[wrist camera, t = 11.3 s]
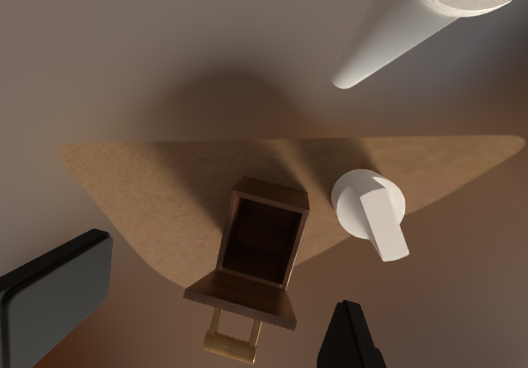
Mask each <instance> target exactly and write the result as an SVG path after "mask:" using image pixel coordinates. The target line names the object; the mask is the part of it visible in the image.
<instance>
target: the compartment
mask: <svg viewBox="0 0 528 368" xmlns="http://www.w3.org/2000/svg"><path fill="white" fill-rule="evenodd" d="M309 212H310V207H309V200H308V193H307V192H305V191H301V190H297V189H293V188H289V187H285V186H282V185H278V184H274V183H270V182H266V181H262V180H259V179H255V178H251V177H247V176H245V177H244V178H243V179H242V180H241V181H240V182H239V183H238V184H237V185H236V186H235V187H234V188H233V189H232V193H231V198H230V203H229V207H228V212H227V217H226V222H225V226H224V231H223V236H222V241H221V245H220V250H219V255H218V260H217V264H216V270H219V271H223V272H226V273H230V274H233V275H237V276H240V277H243V278H247V279H250V280H254V281H257V282H261V283H264V284H268V285H271V286H275V287H278V288H282V289H285V290H286V288H287V285H288V282H289V278H290V275H291V272H292V269H293V265H294V262H295V259H296V255H297V252H298V249H299V245H300V242H301V239H302V235H303V232H304V229H305V225H306V222H307V219H308V215H309Z"/></svg>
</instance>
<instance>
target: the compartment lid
mask: <svg viewBox="0 0 528 368" xmlns="http://www.w3.org/2000/svg"><path fill="white" fill-rule="evenodd" d="M183 298H186V299H189V300H192V301H196V302H199V303H202V304H206V305H210V306H212V307H215V311H214V315H213V318H212V322H211V325H210V329H209V330H208V331H207V333H206V336H205V339H204V342H203V346H202V349H204V350H207V351H210V352H213V353H217V354H220V355H223V356H227V357H230V358H233V359H236V360H239V361H243V362H246V363H249V364H253V363H254V359H255V355H256V351H257V345H256V343H257V339H258V335H259V331H260V327H261V323H262V321H263V322H266V323H270V324H273V325H276V326H280V327H283V328H287V329H290V330H293V331H295V328H296V324H297V321H296V318H295V315H294V312H293V308H292V305H291V303H290V299H289V297H288V293H287V290H285V289H282V288H278V287H275V286H271V285H268V284H264V283H261V282H257V281H254V280H250V279H247V278H243V277H240V276H237V275H233V274H230V273H226V272H223V271H219V270H216V269H215V270H213V271H212V272H210V273H209V274H207V275H206V276H204V277H203V278H202V279H200V280H199V281H197V282H196V283H194V284H193V285H191V286H190V287H188V288H187V289H185V293H184V296H183ZM223 310H226V311H229V312H233V313H236V314H239V315H243V316H246V317H250V318H253V319H255V321H254V325H253V328H252V332H251V337H250V340H249V342H246V341H242V340H239V339H235V338H232V337H229V336H226V335H222V334H219V333H216V332H217V329H218V325H219V322H220V318H221V314H222V311H223Z"/></svg>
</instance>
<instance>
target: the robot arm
mask: <svg viewBox="0 0 528 368" xmlns="http://www.w3.org/2000/svg"><path fill="white" fill-rule="evenodd" d="M112 244H113V239H112V237H110V234H109V233H108V232H105V231H102V230H98V229H92V230H90V231H88V232H86V233H84V234H82V235H80V236H78V237H76V238H75V239H72V240H70V241H69V242H67V243H65V244H63V245H61V246H59V247H57V248H55V249H53V250H51V251H49V252H47V253H46V254H44V255H42V256H40V257H38V258H36V259H34V260H32V261H30V262H28V263H26V264H25V265H23V266H21V267H19V268H17V269H15V270H13V271H11V272H9V273H7V274H5V275H3V276H1V277H0V368H32V367H33V366H34V365H35V364H36V363H37V362H38V361H39V360H40V359H41V358H43V357H44V356H45V355H46V354H47V353H48V352H49V351H50V350H51V349H52V348H53V347H54V346H56V345H57V344H58V343H59V342H60V341H61V340H62V339H63V338H64V337H65V336H66V335H67V334H69V333H70V332H71V331H72V330H73V329H74V328H75V327H76V326H77V325H78V324H79V323H80V322H82V320H84V319H85V318H86V317H87V316H88V315H89V314H90V313H91V312H92V311H93V310H94V309H95V308H97V307H98V306H99V305H100V304H101V303H102V302H103V301H104V300H105V298H106V297H107V295H108V290H109V279H110V268H111V255H112ZM317 368H386V365H385V362H384V360H383V357H382V354H381V352H380V351H379V349H378V348H375V346H374V343H373V340H372V338H371V335H370V332H369V329H368V326H367V323H366V320H365V318H364V314H363V311H362V309H361V306H360V304H358V303H354V302H351V301H347V300H344V301H343V302H342V303H340V302H338V303H337V305H336V308H335V311H334V314H333V316H332V319H331V322H330V324H329V327H328V330H327V332H326V335H325V338H324V341H323V343H322V346H321V349H320V352H319V354H318V358H317Z"/></svg>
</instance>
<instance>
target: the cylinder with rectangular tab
mask: <svg viewBox="0 0 528 368" xmlns="http://www.w3.org/2000/svg"><path fill="white" fill-rule="evenodd" d="M331 201H332V205H333V208H334V210H335V213H336V215H337V217H338V220H339V221H340V223H341V225H342V227H343V228H344V229H345V230H346V231H347V232H348V233H350V234H352V235H354V236H356V237H359V238H363V239H370V240H371V242H372V244H373V245H374V247H375V249H376V250H377V252H378V253H379V255H380V256H381V258H382V260H383V261H392V260H397V259H400V258H402V257H404V256H407V255H408V254H409V251H408V248H407V245H406V242H405V240H404V237H403V234H402V231H401V228H400V225H399V224H400V222H401V221H402V218H403V216H404V214H405V200H404V196H403V195H402V193H401V191H400V189H399V188H398V187H397V186H396V185H395V184H394V183H392V182H391V181H389V180H387V179H386V178H384V177H383V176H381V175H379V174H378V173H376V172H374V171H371V170H368V169H356V170H352V171H349V172H347V173H345V174H344V175H342V176H341V177H340V178H339V179H338V180H337V182H336V183H335V185H334V187H333V190H332V193H331Z"/></svg>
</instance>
